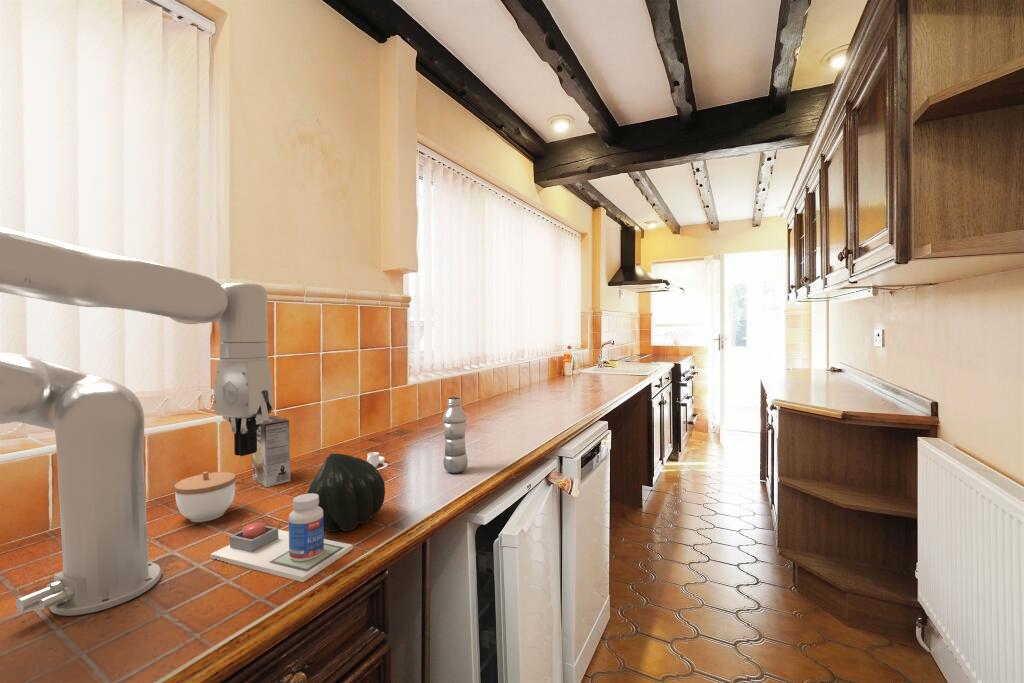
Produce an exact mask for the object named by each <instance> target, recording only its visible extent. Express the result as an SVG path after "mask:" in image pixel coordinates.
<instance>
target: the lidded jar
mask: <svg viewBox="0 0 1024 683" xmlns="http://www.w3.org/2000/svg"><path fill="white" fill-rule="evenodd" d="M236 479H237V477H236V474H234V473H233V472H229V471H228V472H227V471H216V472H214V471H213V472H209V471H204V472H202V474H197V475H194V476H190V477H186V478H184V479H181V480H180V481H177V482H176V483H175V484H174V486H173V487H174V488H173V489H174V492H175V494H174V495H175V502H176V506H177V509H178V511H179V512H180V514H181V515H182V517H183V516H184V517H185V518H186V519H189V521H190V522H191V523H204V522H209V521H213V520H216V519H218V518H220V517H223V516H224V514H225V512H226V511H227V510H228V509H229V507H230V506H231V505H232V503H233V501H234V498H235V493H236Z"/></svg>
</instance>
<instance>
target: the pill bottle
mask: <svg viewBox="0 0 1024 683" xmlns="http://www.w3.org/2000/svg"><path fill="white" fill-rule="evenodd" d="M318 504H319V495H318V494H313V493H310V494H307V493H303V494H300V495H297V496H295V497H294V498H293V500H292V508H293V510H292V511H291V512H290V513H288V514H289V515H288V532H289V556H290V558H291V559H292V560H294V561H307V560H311V559H314V558H316V557H318V556H319V555H321V554H322V553H323V551H324V539H325V537H324V535H325V533H324V529H325V528H324V524H323V509H322V508H321V507H319V506H318Z"/></svg>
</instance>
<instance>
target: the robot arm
mask: <svg viewBox="0 0 1024 683" xmlns="http://www.w3.org/2000/svg"><path fill="white" fill-rule="evenodd" d="M0 293H3V294H10V295H13V296H14V295H16V296H20V297H26V298H31V299H36V300H42V301H47V302H52V303H53V302H54V303H58V304H63V305H69V306H70V305H71V306H75V307H76V306H77V307H84V308H111V309H119V310H120V309H121V310H127V311H132V312H139V313H146V314H151V315H157V316H162V317H167V318H169V319H171V320H173V321H174V322H178V323H180V324H184V325H198V324H208V323H217V322H218V329H219V330H218V331H219V332H218V334H219V338H218V339H219V340H218V341H219V360H218V361H217V364H216V369H215V370H216V371H215V377H214V386H213V387H214V389H213V410H214V411H213V412H214V413H215V414H217V415H218V416H221V417H222V419H223V420H225V421H227V422H229V423H230V427H231V432H232V433H233V434H234V436H233V438H234V440H233V442H234V444H233V445H234V455H235V456H239V457H244V456H248V455H252V453H256V452H257V431H258V430H259V426H260V425H261V424H262V423H266V422H269V417H270V416H269V414H271V413H272V412H273V408H274V388H273V377H272V370H271V365H270V364H271V363H270V360H269V343H268V341H269V335H268V334H269V329H268V328H269V326H268V321H269V319H268V292H267V289H266V288H265V287H264V286H263V285H260V284H258V283H257V284H256V283H250V282H249V283H248V282H228V283H223V284H222V285H221V284H220V283H219V282H217V281H216V280H215V279H213V278H211V277H208V276H206V275H202V274H198V273H195V272H191V271H187V270H183V269H179V268H176V267H172V266H167V265H164V264H159V263H155V262H151V261H146V260H143V259H142V260H140V259H136V258H130V257H127V256H121V255H117V254H112V253H109V252H105V251H102V250H101V251H100V250H95V249H90V248H86V247H81V246H78V245H74V244H69V243H67V242H66V243H65V242H61V241H58V240H53V239H49V238H45V237H41V236H36V235H32V234H28V233H25V232H21V231H17V230H13V229H9V228H6V227H2V226H0ZM10 423H11V424H12V423H22V424H25V425H29V426H35V427H40V428H44V429H49V430H54V434H55V436H54V437H55V446H56V448H55V450H56V461H57V462H56V463H57V482H58V483H57V486H58V498H59V510H60V511H59V513H60V514H59V516H60V534H61V536H60V537H61V552H62V554H61V555H62V570H63V571H59V572H57V573H55V574H54V576H53V580H54V581H53V582H49V583H47V585H46V586H45V587H44V588H42V589H39V590H37V591H32V592H30V593H28V594H25V595H24V596H21V597H18V598H17V599H16V601H15V606H16V610H17V612H18V613H21V614H22V613H23V612H26V611H28V610H31V609H34V608H36V607H38V606H39V608H40V609H41V610H45V609H48V608H49V610H50V612H51V613H52V614H54V615H55V614H56V615H57V616H65V617H66V616H67V617H68V616H70V617H71V616H81V615H87V614H92V613H96V612H99V611H103V610H107V609H110V608H113V607H116V606H119V605H121V604H124V603H126V602H129V601H131V600H133V599H135V598H137V597H139V596H141V595H142V594H145V593H146V592H147V591H148V590H150V589H151V588H153V587H154V586H156V584H157V583H158V582H159V581H160V579H161V576H162V568H161V566H160V564H157V563H155V562H151V561H149V554H148V553H149V552H148V550H149V549H148V530H147V505H146V486H145V469H144V468H145V466H144V465H145V464H144V441H145V440H144V438H145V414H144V409H143V406H142V403H141V401H140V400H139V397H137V395H136V394H135V393H134V392H133V391H131V389H129V388H127V387H126V386H124V385H122V384H120V383H119V382H116V381H114V380H111V379H107V378H105V377H100V376H98V375H94V374H90V373H87V372H83V371H80V370H78V369H74V368H70V367H67V366H64V365H60V364H56V363H53V362H50V361H46V360H43V359H39V358H36V357H34V356H33V357H32V356H30V355H26V354H21V353H15V352H0V425H1V424H3V425H5V424H10Z"/></svg>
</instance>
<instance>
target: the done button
mask: <svg viewBox="0 0 1024 683" xmlns="http://www.w3.org/2000/svg"><path fill="white" fill-rule="evenodd" d="M266 526H267V525H266V523H265V522H262V521H255V522H251V523H248V524H246V525H244V526H243V527H242V529H241V531H242V530H243V538H247V539H254V538H256V537H258V536H260V535H262V534H264V533H266Z"/></svg>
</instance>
